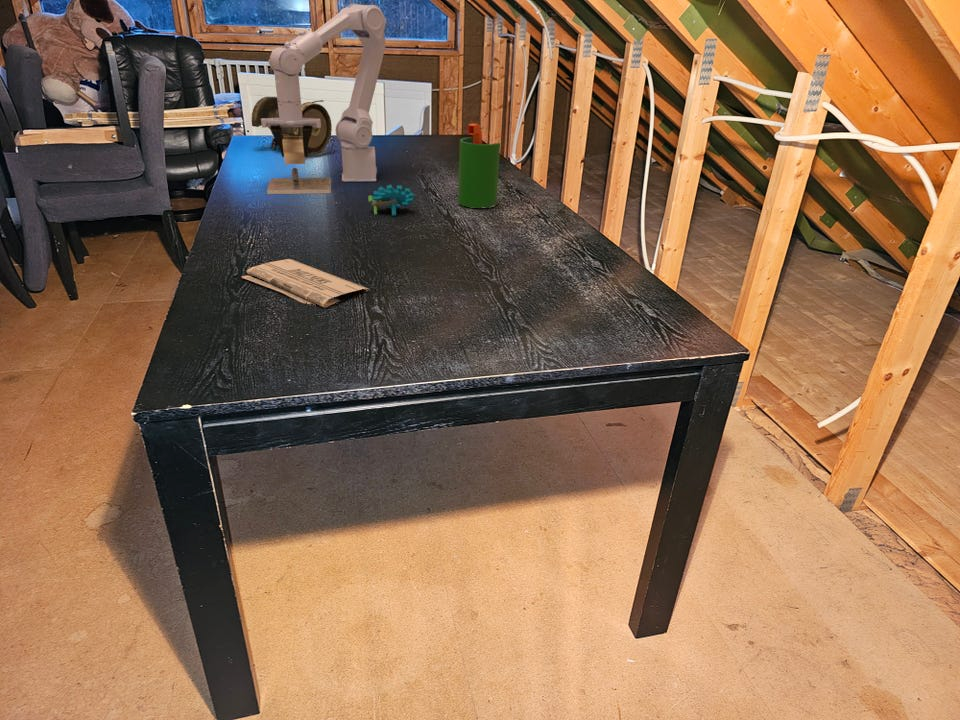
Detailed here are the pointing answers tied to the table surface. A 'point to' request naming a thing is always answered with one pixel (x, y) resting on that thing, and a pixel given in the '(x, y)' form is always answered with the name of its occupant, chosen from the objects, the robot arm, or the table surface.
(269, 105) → the bench grinder
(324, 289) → the newspaper
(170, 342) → the table surface
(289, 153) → the hollow square block
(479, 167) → the green cylindrical container
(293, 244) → the table surface
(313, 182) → the base plate
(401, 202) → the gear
